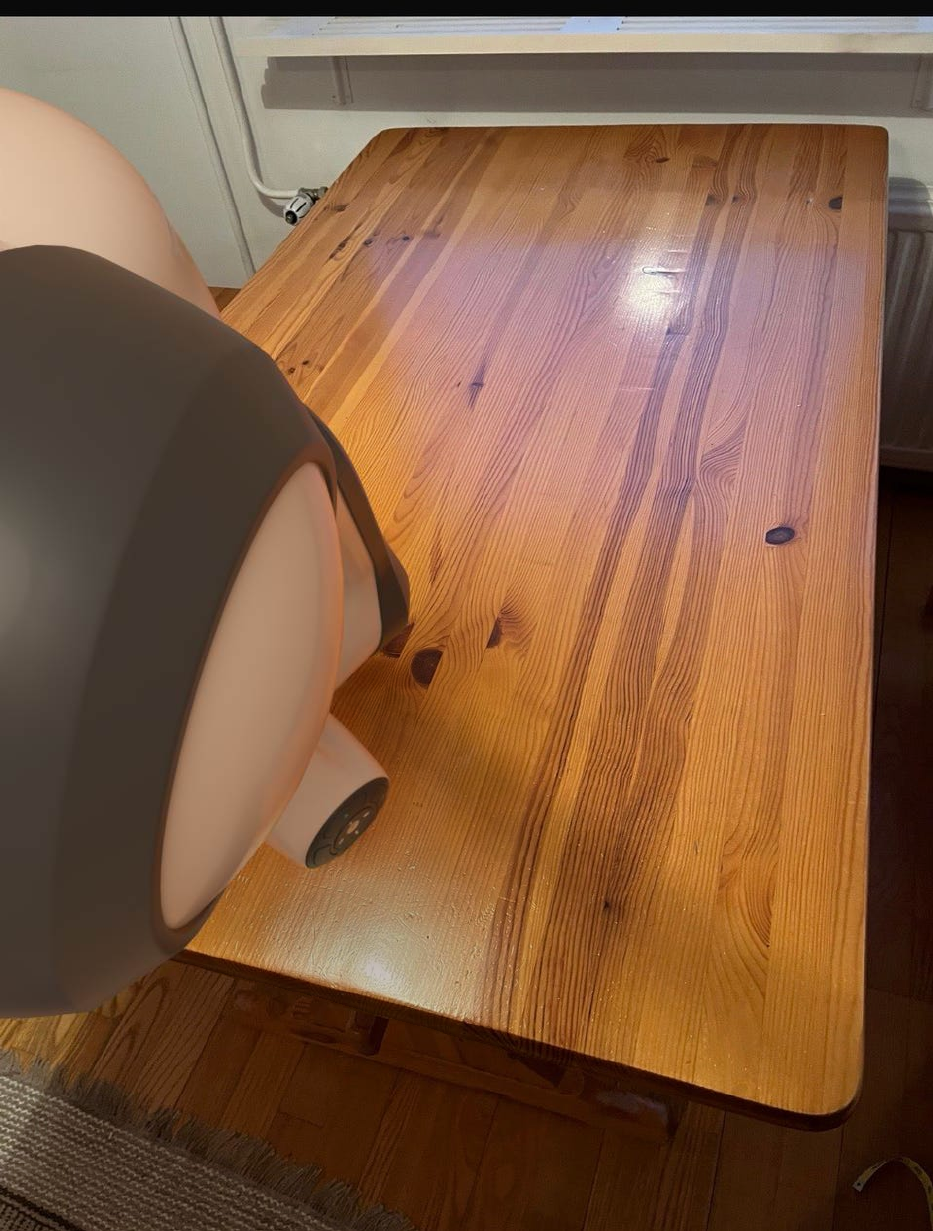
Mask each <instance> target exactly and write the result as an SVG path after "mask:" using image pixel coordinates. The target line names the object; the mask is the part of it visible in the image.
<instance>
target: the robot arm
mask: <svg viewBox="0 0 933 1231" xmlns="http://www.w3.org/2000/svg"><path fill="white" fill-rule="evenodd" d="M285 376H286V375H285V374H284V373H283V372H282V370H281V369H280V367H279V366H278V364H277V362H276V361H275V359H274V358H273V357H272V356H271V355H270V354H269V353H268V352H267V351H265V350H264V349H262V347H260V346H259V345H257V344H256V343H254V342H253V341H252V340H250V339H249V338H248V337H246V336H245V335H243V334H242V333H240V332H239V331H238V330H236V329H235V328H233V327H232V326H230V325H228V324H226V323H225V321H224V320H223V318H222V315H221V312H220V310H219V308H218V306H217V304H216V302H215V299H214V297H213V294H212V293H211V292H210V289H209V287H208V285H207V283H206V281H205V279H204V278H203V276H202V273H201V272H200V269H199V268H198V266H197V264H196V262H195V260H194V257H193V256H192V254H191V252H190V250H189V248H188V246H187V245H186V243H185V241H184V239H183V237H182V236H181V234H180V232H179V230H178V229H177V228H176V226H175V224H174V222H173V221H172V219H171V217H170V216H169V214H168V212H167V211H166V209H165V208H164V206H163V205H162V202H161V201H160V199H159V198H158V196H157V194H156V193H155V191H154V190H153V189H152V187H151V186H150V184H149V183H148V181H147V179H145V177H144V176H143V175H142V174H141V172H140V171H139V170H138V169H137V167H136V166H135V165H134V164H133V163H132V162H131V160H129V159H128V158H127V157H126V155H125V154H123V153H122V151H121V150H120V149H118V148H117V147H116V146H115V145H114V144H113V143H111V142H110V141H109V139H107V138H105V137H104V136H103V135H102V134H101V133H99V132H98V131H97V130H95V129H94V128H93V127H92V126H90V125H89V124H88V123H86V122H84V121H82V120H80V119H79V118H78V117H76V116H74V115H72V114H70V113H69V112H67V111H65V110H63V109H61V108H60V107H57V106H56V105H54V104H52V103H49V102H47V101H45V100H42V99H40V98H37V97H35V96H33V95H30V94H28V93H23V92H20V91H17V90H14V89H10V88H6V87H3V86H0V1020H7V1019H10V1020H12V1019H34V1018H35V1019H36V1018H45V1017H52V1016H53V1017H54V1016H55V1017H56V1016H63V1015H65V1016H66V1015H74V1014H83V1013H90V1012H91V1011H94V1010H96V1009H99V1008H100V1007H102V1006H103V1005H105V1004H106V1003H107V1002H109V1001H110V1000H112V999H113V998H115V997H116V996H118V995H120V993H122V992H124V991H125V990H127V988H129V987H131V986H132V985H134V984H135V983H136V982H138V981H139V980H141V979H143V978H144V977H146V976H147V975H148V974H149V973H151V972H153V971H154V970H156V969H157V968H158V967H160V966H161V965H163V964H164V963H165V962H167V961H168V960H170V959H171V958H173V957H174V956H176V955H177V954H179V953H181V951H182V950H184V949H185V948H186V947H187V946H188V945H189V944H190V943H192V941H193V939H194V938H195V937H196V936H197V935H198V934H199V933H200V932H201V930H202V928H203V927H204V925H205V924H206V923H207V921H208V920H209V918H210V917H211V915H212V914H213V912H214V911H215V909H216V907H217V906H218V903H219V902H220V900H221V898H222V897H223V895H224V893H225V891H226V889H227V888H228V886H229V884H230V883H231V882H232V881H233V880H234V879H235V878H236V877H237V876H238V874H239V873H240V872H241V871H242V870H243V869H244V867H245V866H246V865H247V864H248V862H249V861H250V860H251V859H252V858H253V856H254V855H255V853H256V852H257V851H258V850H259V848H260V847H261V846H262V845H263V843H264V844H266V845H267V846H268V847H269V848H271V849H272V850H274V851H275V852H277V853H278V854H279V855H280V856H282V857H284V858H285V859H287V860H289V861H290V862H292V863H293V864H295V865H297V867H300V868H302V869H306V870H315V869H317V868H321V867H322V866H325V865H328V864H330V863H331V862H332V861H334V860H336V859H337V858H338V857H341V855H343V854H344V853H345V852H347V851H348V850H349V849H350V847H351V846H352V845H353V844H354V843H355V842H356V841H357V840H358V839H359V838H360V837H361V836H362V835H363V834H364V833H365V831H366V830H367V829H368V828H369V827H370V826H371V825H372V823H374V821H375V820H376V819H377V817H378V814H379V813H380V810H381V809H382V808H383V806H384V804H385V802H386V800H387V794H388V791H389V788H390V777H389V775H388V774H387V772H386V771H385V769H384V767H383V766H382V765H381V764H380V763H379V762H378V760H377V759H376V758H375V757H374V756H373V755H372V753H371V752H370V751H369V750H368V748H366V747H365V745H364V744H362V742H361V741H360V740H359V739H358V738H357V737H356V736H355V735H354V734H353V733H352V731H350V730H349V729H348V728H347V727H346V726H345V725H344V723H342V722H341V721H340V720H339V719H338V718H337V717H336V716H335V715H333V714H332V713H331V712H330V709H331V706H332V702H333V699H334V694H335V692H336V691H337V690H338V689H339V688H340V687H341V686H342V685H343V684H344V683H345V682H346V681H347V680H348V679H349V678H350V677H351V676H352V675H353V674H354V673H355V672H356V671H357V670H358V669H359V668H360V667H361V666H363V664H364V663H365V662H366V661H367V660H368V659H371V658H373V657H374V656H376V654H377V653H379V652H380V651H381V650H382V649H384V648H385V646H387V645H388V644H389V643H390V642H391V641H392V640H394V639H395V638H396V637H397V636H398V635H399V634H401V633H402V632H403V631H404V630H405V629H406V628H407V626H408V623H409V618H410V617H409V616H410V611H411V610H410V608H411V585H410V579H409V575H408V572H407V571H406V569H405V567H404V565H403V564H402V562H401V561H400V559H399V558H398V556H397V555H396V553H395V551H394V550H393V548H392V547H391V546H390V544H389V543H388V542H387V541H386V539H385V538H384V535H383V532H382V530H381V527H380V526H379V522H378V520H377V517H376V515H375V513H374V510H373V507H372V504H371V502H370V500H369V497H368V494H367V492H366V490H365V488H364V485H363V482H362V480H361V478H360V476H359V474H358V472H357V470H356V467H355V466H354V464H353V462H352V460H351V458H350V456H349V455H348V453H347V451H346V450H345V448H344V446H343V444H342V443H341V441H340V440H339V439H338V437H337V436H336V435H335V433H334V432H333V431H332V430H331V428H330V427H329V426H328V425H327V424H326V423H325V422H324V420H322V419H321V417H320V416H318V414H316V413H315V411H314V410H312V409H311V408H310V407H309V406H308V405H307V404H306V403H305V402H303V401H302V400H301V399H300V397H299V395H298V393H297V392H296V391H295V390H294V389H293V386H292V385H291V384H290V382H289V381H288V379H287V378H286V377H285Z"/></svg>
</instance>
